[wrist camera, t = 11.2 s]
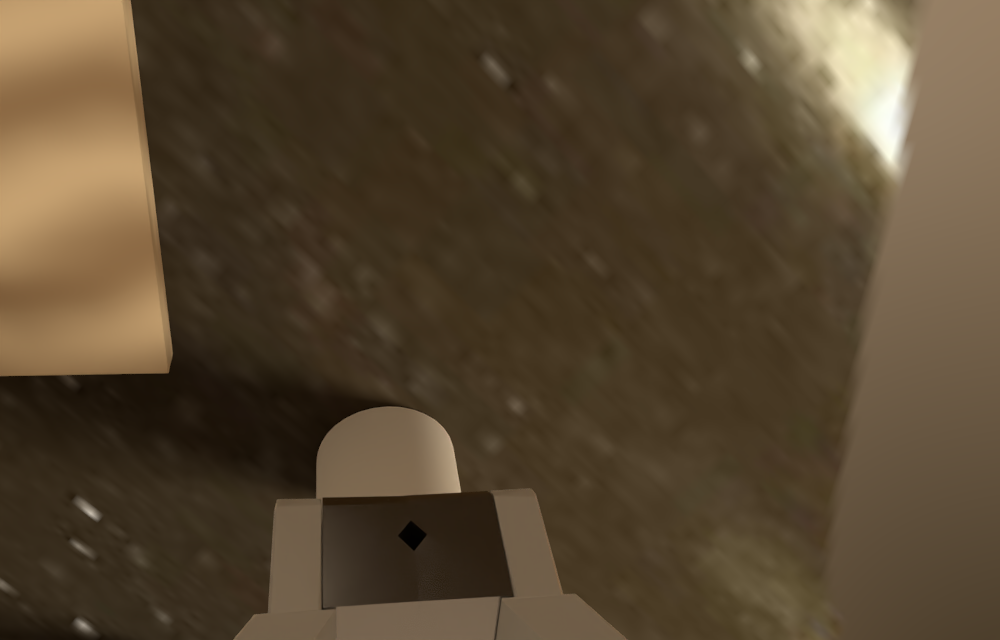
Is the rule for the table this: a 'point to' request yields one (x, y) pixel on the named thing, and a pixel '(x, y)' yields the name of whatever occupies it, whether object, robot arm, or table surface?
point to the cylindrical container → (386, 456)
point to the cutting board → (76, 196)
